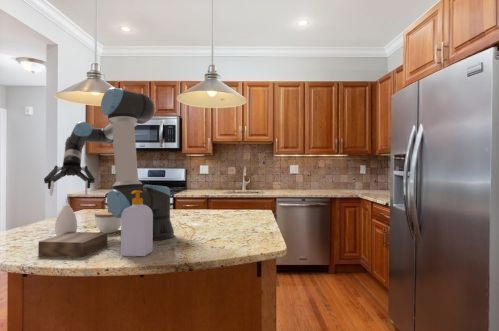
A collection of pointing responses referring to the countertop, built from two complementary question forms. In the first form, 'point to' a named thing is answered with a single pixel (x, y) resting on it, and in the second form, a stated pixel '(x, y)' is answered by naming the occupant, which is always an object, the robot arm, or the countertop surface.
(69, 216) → the grey teardrop shape
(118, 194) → the robot arm
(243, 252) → the countertop surface
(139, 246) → the soap bottle
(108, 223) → the lidded bowl
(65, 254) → the walnut stand
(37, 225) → the countertop surface
